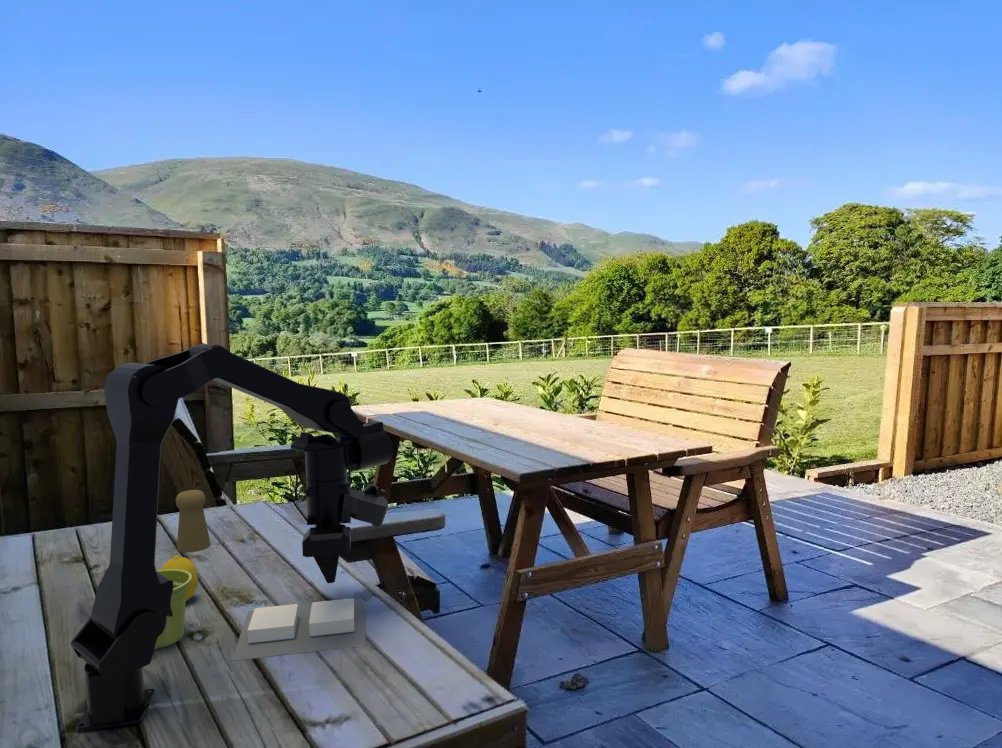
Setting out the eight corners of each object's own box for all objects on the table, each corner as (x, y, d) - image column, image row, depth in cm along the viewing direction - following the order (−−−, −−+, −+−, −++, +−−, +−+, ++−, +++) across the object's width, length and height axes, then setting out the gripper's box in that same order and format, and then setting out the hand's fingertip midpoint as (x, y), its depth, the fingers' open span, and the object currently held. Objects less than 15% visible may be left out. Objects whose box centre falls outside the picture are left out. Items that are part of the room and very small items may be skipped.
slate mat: (365, 649, 93) (365, 645, 93) (231, 665, 90) (231, 660, 90) (364, 602, 108) (364, 598, 108) (249, 614, 104) (248, 610, 104)
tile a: (298, 617, 102) (294, 639, 95) (255, 621, 101) (248, 644, 94) (297, 603, 102) (293, 625, 95) (254, 608, 100) (247, 630, 93)
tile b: (354, 611, 103) (354, 632, 96) (312, 615, 102) (309, 637, 95) (353, 598, 103) (353, 618, 96) (312, 602, 102) (308, 623, 95)
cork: (176, 544, 136) (172, 489, 135) (210, 539, 138) (206, 485, 137) (176, 554, 130) (172, 497, 129) (211, 549, 133) (207, 492, 132)
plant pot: (112, 664, 90) (106, 600, 90) (129, 631, 99) (125, 573, 99) (189, 653, 93) (185, 591, 92) (200, 622, 102) (196, 565, 101)
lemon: (184, 614, 105) (181, 563, 104) (152, 612, 106) (148, 561, 105) (207, 599, 110) (203, 550, 109) (176, 597, 111) (172, 548, 110)
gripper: (386, 490, 93) (390, 603, 94) (381, 459, 111) (384, 555, 112) (299, 495, 90) (304, 611, 92) (308, 464, 108) (312, 561, 110)
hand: (331, 582), depth 102 cm, fingers closed
